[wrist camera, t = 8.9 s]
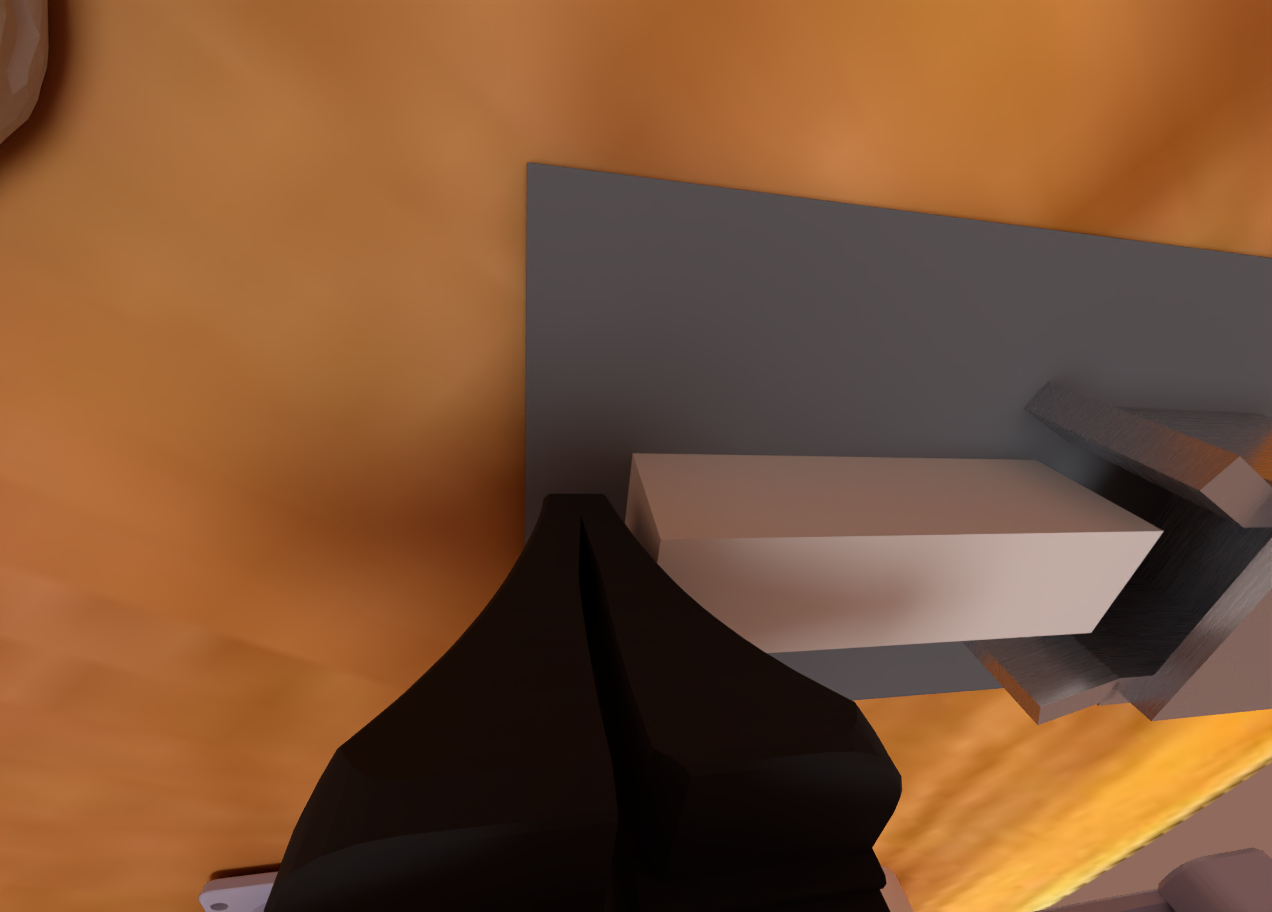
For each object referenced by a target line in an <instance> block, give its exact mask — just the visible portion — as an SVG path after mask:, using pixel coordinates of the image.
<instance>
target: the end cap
mask: <svg viewBox="0 0 1272 912" xmlns="http://www.w3.org/2000/svg"><path fill="white" fill-rule="evenodd" d="M1024 409H1025V410H1027V411H1028V412H1029V413H1031V414H1032V415H1033V416H1034V417H1036V418H1037V419H1038V420H1040V421H1041V422H1042V423H1044V424H1045V425H1046V426H1048V427H1049V428H1050V429H1052V430H1053V431H1054V432H1056V433H1057V434H1058V435H1059V436H1061V437H1062V438H1063V439H1065V440H1066V441H1068V442H1070V443H1073V444H1075V445H1077V446H1079V447H1081V448H1083V449H1085V450H1087V451H1089V452H1091V453H1093V454H1095V455H1097V456H1099V457H1101V458H1103V459H1105V460H1107V461H1109V462H1111V463H1113V464H1115V465H1117V466H1119V467H1121V468H1123V469H1125V470H1127V471H1129V472H1131V473H1133V474H1136V475H1138V476H1140V477H1142V478H1144V479H1146V480H1148V481H1150V482H1152V483H1154V484H1156V485H1158V486H1160V487H1162V488H1164V489H1166V490H1168V491H1170V492H1172V493H1174V495H1173V496H1172V498H1171V499H1170V501H1169V502H1168V503H1167V505H1166V506H1165V508H1164V509H1163V510H1162V512H1161V513H1160V515H1159V516H1158V517H1157V519H1156V520H1155V522H1154V523H1153V524H1152V525H1154V526H1156V527H1157V528H1159V529H1161V530H1163V531H1164V532H1163V533H1162V534H1161V536H1160V537H1159V539H1158V540H1157V541H1156V543H1155V544H1154V546H1153V547H1152V548H1151V550H1150V551H1149V553H1148V554H1147V555H1146V557H1145V558H1144V560H1143V561H1142V562H1141V564H1140V565H1139V567H1138V568H1137V569H1136V571H1135V572H1134V574H1133V575H1132V576H1131V578H1130V579H1129V581H1128V582H1127V583H1126V585H1125V586H1124V588H1123V589H1122V590H1121V592H1120V593H1119V595H1118V596H1117V597H1116V599H1115V600H1114V602H1113V603H1112V604H1111V606H1110V607H1109V609H1108V610H1107V611H1106V613H1105V614H1104V616H1103V617H1102V618H1101V620H1100V621H1099V623H1098V624H1097V625H1096V627H1095V628H1094V630H1093V631H1092V632H1091V633H1081V634H1065V635H1049V636H1033V637H1017V638H1001V639H986V640H970V641H962V642H963V644H964V645H965V646H966V647H967V648H968V649H969V650H970V651H971V652H972V653H973V654H974V656H975V657H976V658H977V659H978V660H979V661H980V662H981V663H982V664H983V665H984V667H985V668H986V669H987V670H988V671H989V672H990V673H991V674H992V675H993V676H994V678H995V679H996V680H997V681H998V682H999V683H1000V684H1001V685H1002V686H1003V687H1004V689H1005V690H1006V691H1007V692H1008V693H1009V694H1010V695H1011V696H1012V697H1013V698H1014V699H1015V701H1016V702H1017V703H1018V704H1019V705H1020V706H1021V707H1022V708H1023V709H1024V710H1025V712H1026V713H1027V714H1028V715H1029V716H1030V717H1031V718H1032V719H1033V720H1034V721H1035V723H1036V724H1037V725H1040V724H1042V723H1045V722H1048V721H1051V720H1053V719H1056V718H1059V717H1062V716H1065V715H1067V714H1070V713H1073V712H1076V711H1078V710H1081V709H1084V708H1087V707H1090V706H1092V705H1095V704H1097V705H1098V706H1099V705H1110V704H1121V703H1131V704H1132V705H1134V706H1135V707H1136V708H1137V709H1138V710H1139V711H1140V712H1141V713H1143V714H1144V715H1145V716H1146V717H1147V718H1148V719H1149V720H1150V721H1157V720H1167V719H1177V718H1186V717H1196V716H1206V715H1216V714H1225V713H1235V712H1245V711H1255V710H1264V709H1272V417H1269V416H1266V415H1262V414H1259V413H1239V412H1218V411H1198V410H1177V409H1156V408H1136V407H1115V406H1111V405H1108V404H1106V403H1103V402H1100V401H1098V400H1095V399H1093V398H1090V397H1088V396H1085V395H1083V394H1080V393H1077V392H1075V391H1072V390H1070V389H1067V388H1065V387H1062V386H1060V385H1057V384H1055V383H1052V382H1049V381H1048V382H1047V383H1046V384H1045V385H1044V386H1043V387H1042V388H1041V389H1040V391H1039V392H1038V393H1037V394H1036V395H1035V396H1034V397H1033V398H1032V399H1031V400H1030V401H1029V402H1028V403H1027V404H1026V405H1025V407H1024Z"/></svg>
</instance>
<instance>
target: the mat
mask: <svg viewBox="0 0 1272 912" xmlns="http://www.w3.org/2000/svg"><path fill="white" fill-rule="evenodd" d="M1048 381H1049V382H1052V383H1055V384H1057V385H1060V386H1062V387H1065V388H1067V389H1070V390H1072V391H1075V392H1077V393H1080V394H1083V395H1085V396H1088V397H1090V398H1093V399H1095V400H1098V401H1100V402H1103V403H1106V404H1108V405H1111V406H1115V407H1136V408H1156V409H1177V410H1198V411H1218V412H1239V413H1259V414H1262V415H1266V416H1269V417H1272V258H1266V257H1259V256H1251V255H1243V254H1235V253H1228V252H1220V251H1212V250H1204V249H1196V248H1189V247H1181V246H1173V245H1165V244H1158V243H1150V242H1142V241H1134V240H1127V239H1119V238H1111V237H1103V236H1096V235H1088V234H1080V233H1072V232H1064V231H1057V230H1049V229H1041V228H1033V227H1026V226H1018V225H1010V224H1002V223H995V222H987V221H979V220H971V219H963V218H956V217H948V216H940V215H932V214H925V213H917V212H909V211H901V210H894V209H886V208H878V207H870V206H862V205H855V204H847V203H839V202H831V201H824V200H816V199H808V198H800V197H793V196H785V195H777V194H769V193H762V192H754V191H746V190H738V189H730V188H723V187H715V186H707V185H699V184H692V183H684V182H676V181H668V180H661V179H653V178H645V177H637V176H629V175H622V174H614V173H606V172H598V171H591V170H583V169H575V168H567V167H560V166H552V165H544V164H536V163H528V162H527V261H526V422H525V546H526V544H527V542H528V540H529V538H530V536H531V534H532V532H533V530H534V527H535V525H536V523H537V520H538V518H539V515H540V512H541V509H542V505H543V498H544V497H546V496H547V495H548V494H604V495H605V496H606V497H607V498H608V500H609V501H610V503H611V504H612V506H613V507H614V509H615V510H616V512H617V513H618V515H619V516H620V518H621V519H622V520H623V522H624V523H625V518H626V509H627V499H628V490H629V481H630V472H631V463H632V454H633V453H650V454H712V455H774V456H836V457H898V458H960V459H1022V460H1037V461H1039V462H1041V463H1043V464H1044V465H1046V466H1048V467H1050V468H1052V469H1053V470H1055V471H1057V472H1059V473H1060V474H1062V475H1064V476H1066V477H1068V478H1069V479H1071V480H1073V481H1075V482H1077V483H1078V484H1080V485H1082V486H1084V487H1086V488H1087V489H1089V490H1091V491H1093V492H1095V493H1096V494H1098V495H1100V496H1102V497H1104V498H1105V499H1107V500H1109V501H1111V502H1113V503H1114V504H1116V505H1118V506H1120V507H1122V508H1123V509H1125V510H1127V511H1129V512H1130V513H1132V514H1134V515H1136V516H1138V517H1139V518H1141V519H1143V520H1145V521H1147V522H1148V523H1150V524H1153V523H1154V522H1155V520H1156V519H1157V517H1158V516H1159V515H1160V513H1161V512H1162V510H1163V509H1164V508H1165V506H1166V505H1167V503H1168V502H1169V501H1170V499H1171V498H1172V496H1173V495H1174V493H1172V492H1170V491H1168V490H1166V489H1164V488H1162V487H1160V486H1158V485H1156V484H1154V483H1152V482H1150V481H1148V480H1146V479H1144V478H1142V477H1140V476H1138V475H1136V474H1133V473H1131V472H1129V471H1127V470H1125V469H1123V468H1121V467H1119V466H1117V465H1115V464H1113V463H1111V462H1109V461H1107V460H1105V459H1103V458H1101V457H1099V456H1097V455H1095V454H1093V453H1091V452H1089V451H1087V450H1085V449H1083V448H1081V447H1079V446H1077V445H1075V444H1073V443H1070V442H1068V441H1066V440H1065V439H1063V438H1062V437H1061V436H1059V435H1058V434H1057V433H1056V432H1054V431H1053V430H1052V429H1050V428H1049V427H1048V426H1046V425H1045V424H1044V423H1042V422H1041V421H1040V420H1038V419H1037V418H1036V417H1034V416H1033V415H1032V414H1031V413H1029V412H1028V411H1027V410H1025V409H1024V407H1025V405H1026V404H1027V403H1028V402H1029V401H1030V400H1031V399H1032V398H1033V397H1034V396H1035V395H1036V394H1037V393H1038V392H1039V391H1040V389H1041V388H1042V387H1043V386H1044V385H1045V384H1046V383H1047V382H1048ZM767 654H769V655H770V656H772V657H774V658H775V659H777V660H779V661H780V662H782V663H783V664H785V665H787V666H788V667H790V668H792V669H793V670H795V671H797V672H799V673H800V674H802V675H804V676H806V677H808V678H810V679H812V680H814V681H816V682H818V683H819V684H821V685H823V686H825V687H827V688H829V689H831V690H833V691H835V692H837V693H838V694H840V695H842V696H844V697H846V698H848V699H850V700H862V699H874V698H887V697H899V696H911V695H924V694H936V693H948V692H961V691H973V690H985V689H998V688H1004V687H1003V686H1002V685H1001V684H1000V683H999V682H998V681H997V680H996V679H995V678H994V676H993V675H992V674H991V673H990V672H989V671H988V670H987V669H986V668H985V667H984V665H983V664H982V663H981V662H980V661H979V660H978V659H977V658H976V657H975V656H974V654H973V653H972V652H971V651H970V650H969V649H968V648H967V647H966V646H965V645H964V644H963V642H962V641H954V642H938V643H922V644H906V645H890V646H874V647H858V648H842V649H826V650H811V651H795V652H779V653H767Z"/></svg>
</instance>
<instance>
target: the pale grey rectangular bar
mask: <svg viewBox="0 0 1272 912" xmlns="http://www.w3.org/2000/svg"><path fill="white" fill-rule="evenodd" d="M625 524H626V526H627V527H628V529H629V530H630V531H631V532H632V534H633V535H634V536H635V538H636V539H637V540H638V541H639V542H640V544H641V545H642V546H643V547H644V549H645V550H646V551H647V552H648V553H649V555H650V556H651V557H652V558H653V559H654V560H655V561H656V563H657V564H658V565H659V566H660V567H661V568H662V569H663V570H664V571H665V572H666V573H667V574H668V575H669V576H670V578H671V579H672V580H673V581H674V582H675V583H676V584H677V585H678V586H679V587H681V588H682V589H683V590H684V591H685V592H686V593H687V594H688V595H689V596H691V597H692V598H693V599H694V600H695V601H696V602H697V603H698V604H700V605H701V606H702V607H703V608H704V609H706V610H707V611H708V612H709V613H711V614H712V615H713V616H714V617H716V618H717V619H718V620H720V621H721V622H722V623H724V624H725V625H726V626H728V627H729V628H730V629H732V630H733V631H735V632H736V633H737V634H739V635H740V636H741V637H743V638H744V639H746V640H747V641H749V642H750V643H752V644H753V645H755V646H756V647H758V648H759V649H761V650H762V651H764V652H766V653H779V652H795V651H811V650H826V649H842V648H858V647H874V646H890V645H906V644H922V643H938V642H954V641H970V640H986V639H1001V638H1017V637H1033V636H1049V635H1065V634H1081V633H1091V632H1092V631H1093V630H1094V628H1095V627H1096V625H1097V624H1098V623H1099V621H1100V620H1101V618H1102V617H1103V616H1104V614H1105V613H1106V611H1107V610H1108V609H1109V607H1110V606H1111V604H1112V603H1113V602H1114V600H1115V599H1116V597H1117V596H1118V595H1119V593H1120V592H1121V590H1122V589H1123V588H1124V586H1125V585H1126V583H1127V582H1128V581H1129V579H1130V578H1131V576H1132V575H1133V574H1134V572H1135V571H1136V569H1137V568H1138V567H1139V565H1140V564H1141V562H1142V561H1143V560H1144V558H1145V557H1146V555H1147V554H1148V553H1149V551H1150V550H1151V548H1152V547H1153V546H1154V544H1155V543H1156V541H1157V540H1158V539H1159V537H1160V536H1161V534H1162V533H1163V532H1164V531H1163V530H1161V529H1159V528H1157V527H1156V526H1154V525H1152V524H1150V523H1148V522H1147V521H1145V520H1143V519H1141V518H1139V517H1138V516H1136V515H1134V514H1132V513H1130V512H1129V511H1127V510H1125V509H1123V508H1122V507H1120V506H1118V505H1116V504H1114V503H1113V502H1111V501H1109V500H1107V499H1105V498H1104V497H1102V496H1100V495H1098V494H1096V493H1095V492H1093V491H1091V490H1089V489H1087V488H1086V487H1084V486H1082V485H1080V484H1078V483H1077V482H1075V481H1073V480H1071V479H1069V478H1068V477H1066V476H1064V475H1062V474H1060V473H1059V472H1057V471H1055V470H1053V469H1052V468H1050V467H1048V466H1046V465H1044V464H1043V463H1041V462H1039V461H1037V460H1022V459H960V458H898V457H836V456H774V455H712V454H650V453H633V454H632V463H631V472H630V481H629V490H628V499H627V509H626V518H625Z"/></svg>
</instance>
